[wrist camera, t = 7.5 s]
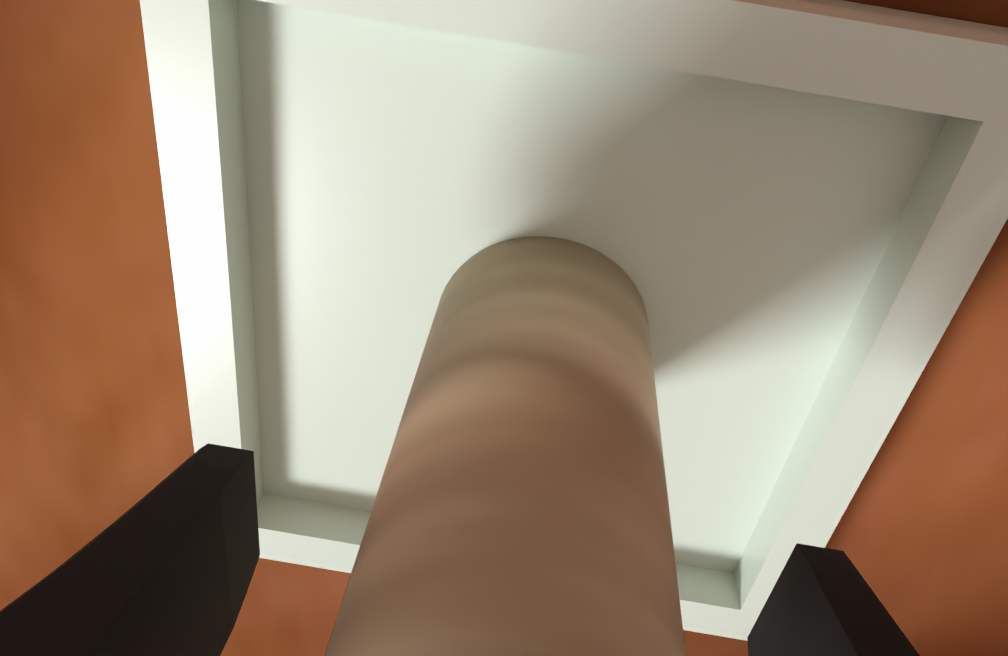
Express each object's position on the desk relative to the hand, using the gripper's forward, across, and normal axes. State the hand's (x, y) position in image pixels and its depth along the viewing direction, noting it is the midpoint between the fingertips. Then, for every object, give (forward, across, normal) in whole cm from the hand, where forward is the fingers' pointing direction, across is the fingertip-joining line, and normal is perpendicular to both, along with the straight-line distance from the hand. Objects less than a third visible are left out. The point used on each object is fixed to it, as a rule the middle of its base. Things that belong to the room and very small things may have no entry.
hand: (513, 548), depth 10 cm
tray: (+6, 0, 0) cm, 6 cm away
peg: (+5, 0, 0) cm, 5 cm away
